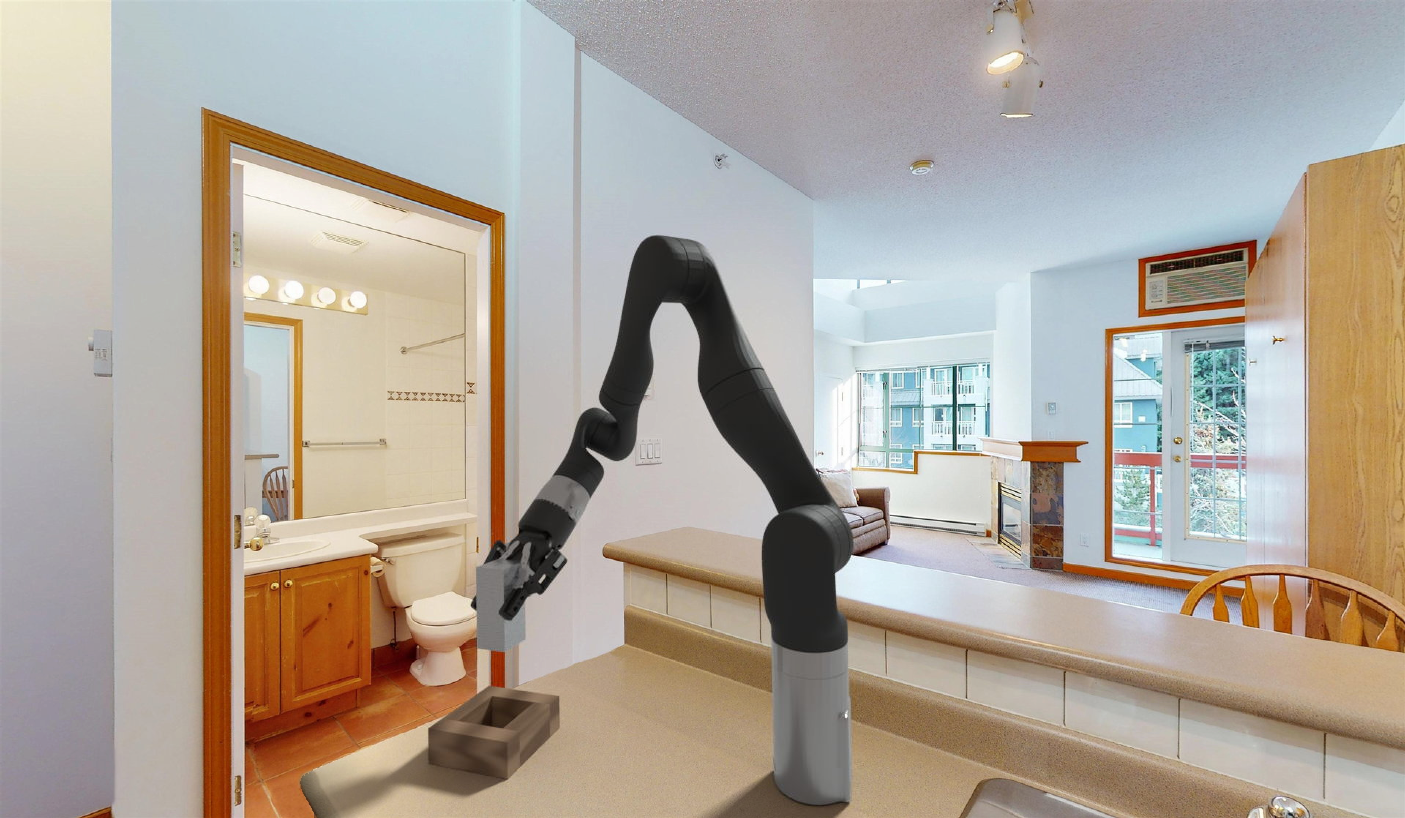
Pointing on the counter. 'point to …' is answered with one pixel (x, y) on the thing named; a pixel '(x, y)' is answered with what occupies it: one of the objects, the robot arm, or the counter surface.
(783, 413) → the robot arm
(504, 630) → the grey square pillar
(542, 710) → the well block
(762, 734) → the counter surface
